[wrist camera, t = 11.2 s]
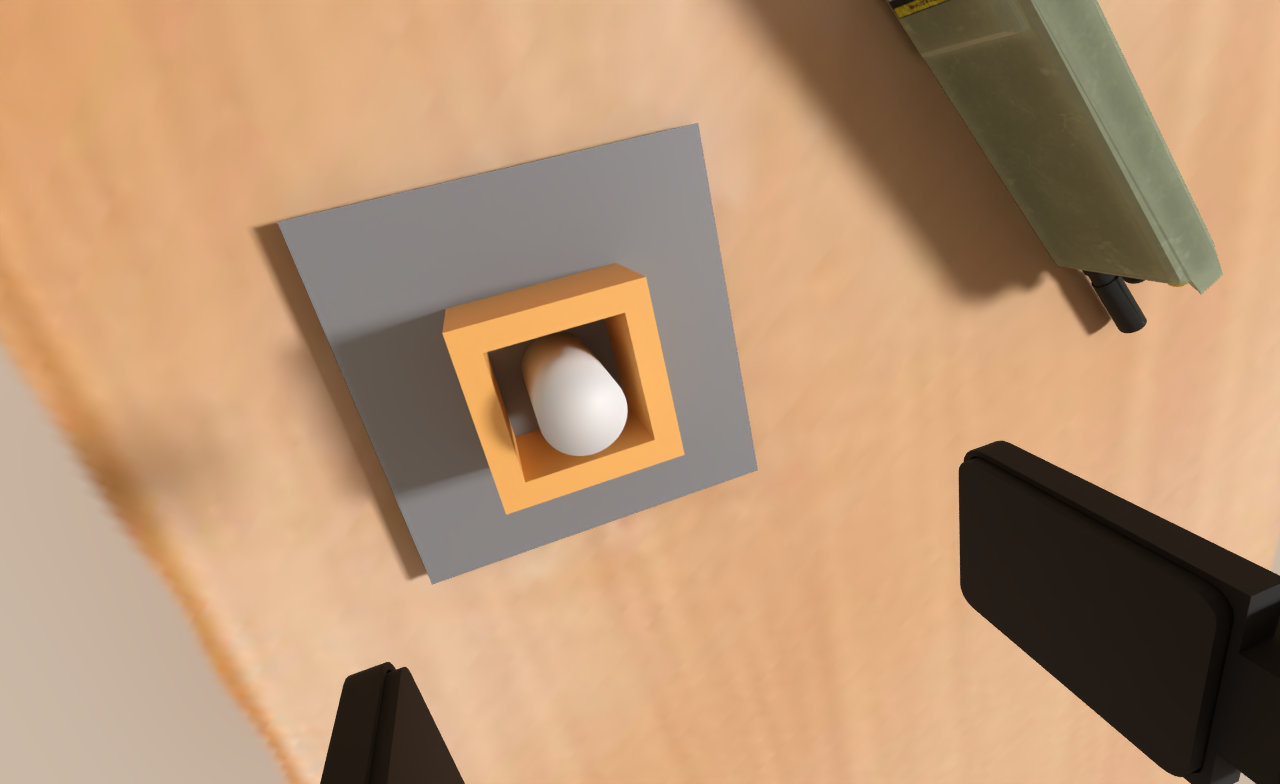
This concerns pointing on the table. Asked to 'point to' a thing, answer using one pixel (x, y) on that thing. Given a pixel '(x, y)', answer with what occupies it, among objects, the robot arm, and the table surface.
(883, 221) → the table surface
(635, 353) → the orange open box
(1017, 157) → the handheld radio
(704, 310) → the plate
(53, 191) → the table surface
